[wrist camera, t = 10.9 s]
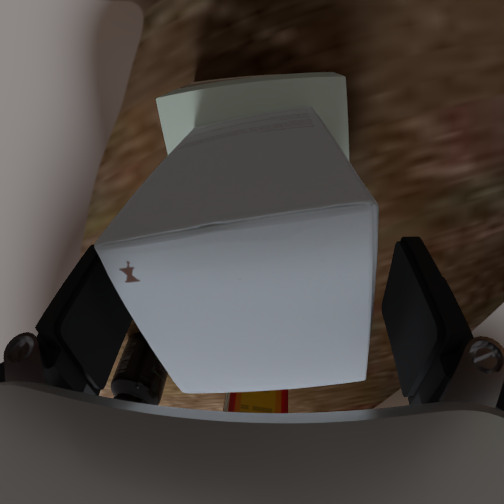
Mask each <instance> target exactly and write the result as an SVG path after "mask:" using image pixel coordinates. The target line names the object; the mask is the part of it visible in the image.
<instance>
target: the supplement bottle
mask: <svg viewBox="0 0 504 504" xmlns="http://www.w3.org/2000/svg"><path fill="white" fill-rule="evenodd" d="M167 375H168V372H167V371H166V369H165V368H164V366H163V365H162V363H161V362H160V360H159V359H158V357H157V356H156V354H155V353H154V351H153V350H152V348H151V347H150V345H149V344H148V342H147V340H146V339H145V337H144V336H143V334H142V333H141V332H139V333H135V334H133V335H132V336H131V337H130V338H129V339H128V342H127V344H126V346H125V349H124V351H123V354H122V356H121V359H120V361H119V364H118V366H117V369H116V371H115V374H114V376H113V379H112V382H111V390H112V393H113V395H114V396H115V397H114V398H113V399H118V400H124V401H130V402H137V403H143V404H151V405H158V404H159V403H160V400H161V396H162V393H163V389H164V386H165V382H166V378H167Z"/></svg>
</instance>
